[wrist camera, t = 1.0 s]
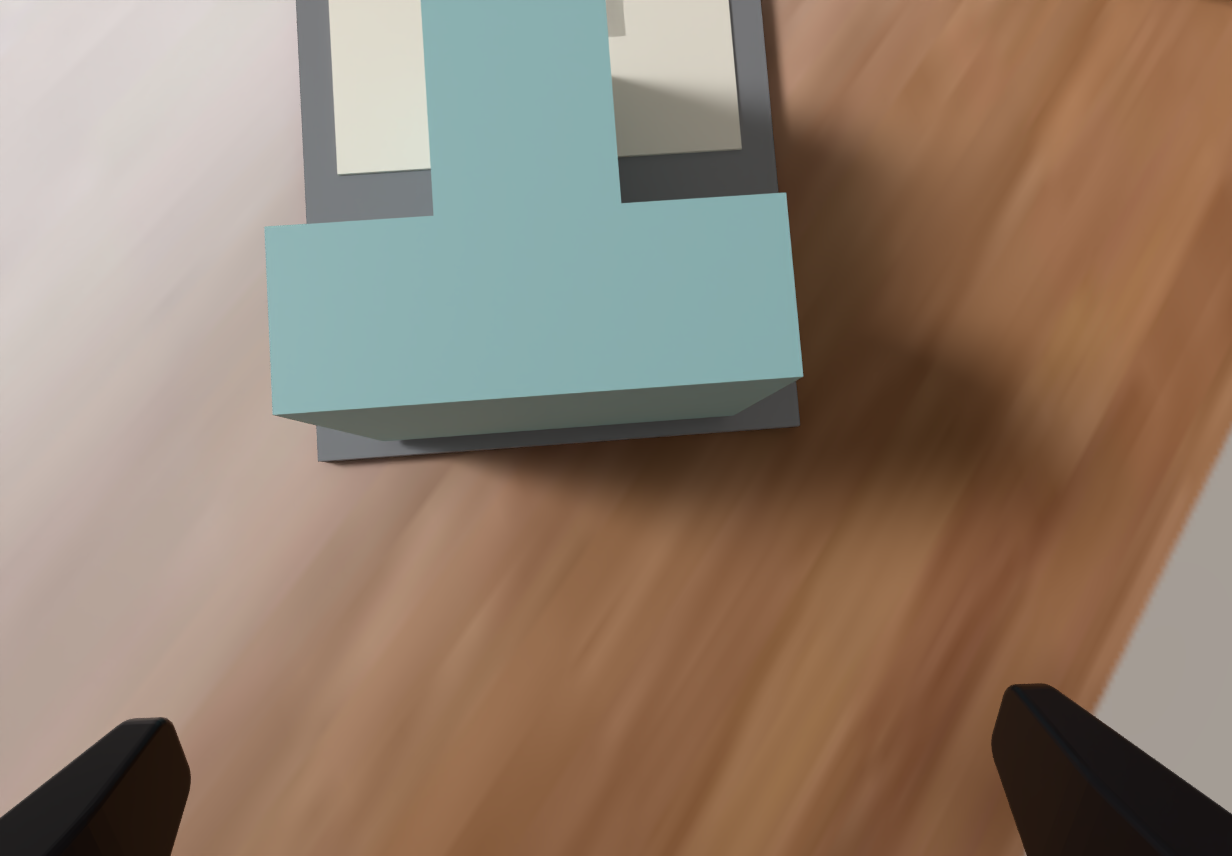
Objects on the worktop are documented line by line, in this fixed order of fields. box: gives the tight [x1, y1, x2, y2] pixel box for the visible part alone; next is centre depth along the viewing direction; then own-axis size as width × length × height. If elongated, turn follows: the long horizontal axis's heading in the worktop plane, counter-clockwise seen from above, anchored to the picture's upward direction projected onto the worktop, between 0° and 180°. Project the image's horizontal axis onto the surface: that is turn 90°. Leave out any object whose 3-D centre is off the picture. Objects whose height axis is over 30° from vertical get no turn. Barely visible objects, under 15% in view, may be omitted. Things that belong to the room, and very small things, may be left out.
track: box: [296, 0, 800, 462], centre depth 23 cm, size 22×14×4 cm, turn 4°
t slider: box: [265, 0, 803, 441], centre depth 20 cm, size 11×10×8 cm
